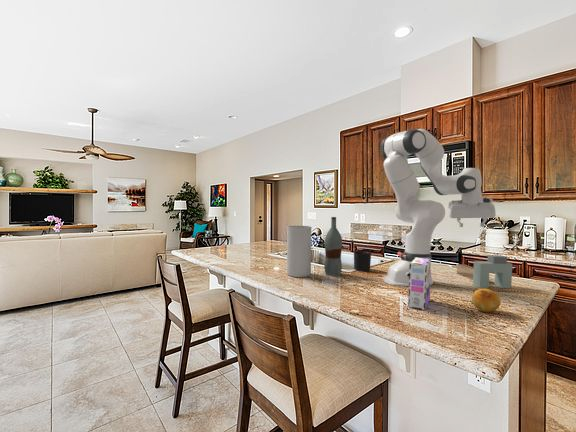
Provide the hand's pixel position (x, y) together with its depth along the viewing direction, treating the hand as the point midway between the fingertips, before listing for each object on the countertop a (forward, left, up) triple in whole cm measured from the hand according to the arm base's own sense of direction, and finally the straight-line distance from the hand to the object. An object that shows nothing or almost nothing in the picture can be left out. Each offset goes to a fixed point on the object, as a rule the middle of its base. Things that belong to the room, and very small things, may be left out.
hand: (471, 226), depth 154 cm
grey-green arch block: (-1, -19, -26) cm, 32 cm away
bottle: (-71, +2, -26) cm, 75 cm away
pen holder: (-53, +13, -26) cm, 60 cm away
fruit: (-25, -50, -26) cm, 61 cm away
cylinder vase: (-89, 0, -26) cm, 92 cm away
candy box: (-45, -43, -26) cm, 67 cm away
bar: (-1, -4, -26) cm, 26 cm away
